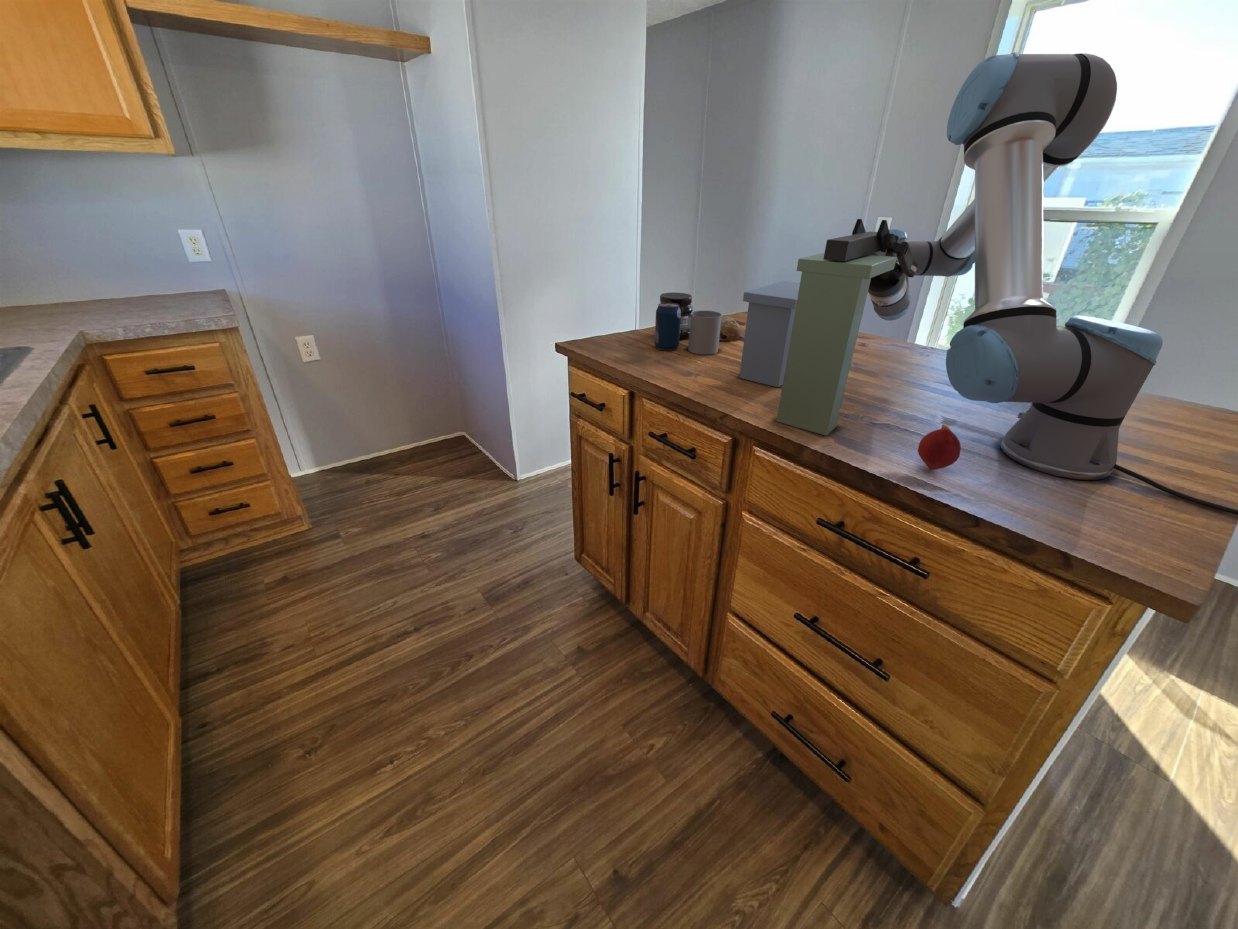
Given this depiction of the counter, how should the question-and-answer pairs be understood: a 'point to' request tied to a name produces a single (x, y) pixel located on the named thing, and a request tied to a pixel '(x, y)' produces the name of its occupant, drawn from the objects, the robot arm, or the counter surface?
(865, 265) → the green capped pedestal
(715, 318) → the cup
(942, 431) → the onion
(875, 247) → the black bar
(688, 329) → the supplement container
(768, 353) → the grey lidded box
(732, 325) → the bread roll
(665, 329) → the soda can
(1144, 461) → the counter surface
